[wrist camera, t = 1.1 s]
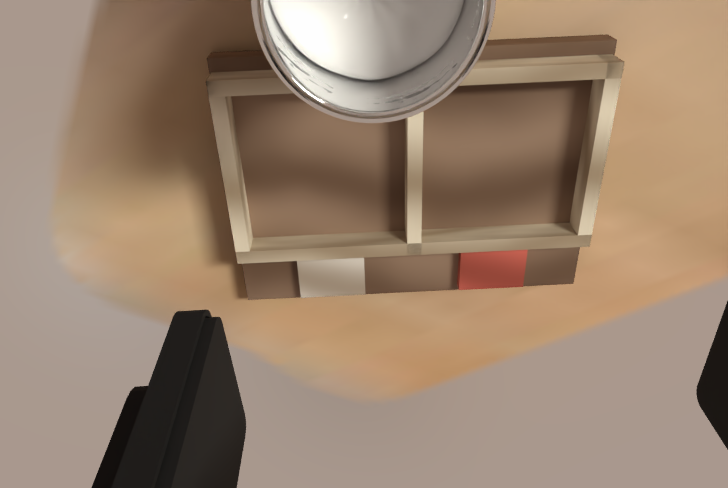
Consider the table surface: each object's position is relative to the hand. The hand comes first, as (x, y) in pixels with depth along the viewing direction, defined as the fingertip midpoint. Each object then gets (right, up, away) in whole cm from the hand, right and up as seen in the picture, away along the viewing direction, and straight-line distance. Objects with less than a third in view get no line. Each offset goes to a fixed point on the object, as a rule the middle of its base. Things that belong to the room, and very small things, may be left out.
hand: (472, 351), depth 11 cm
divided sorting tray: (+1, +6, +24) cm, 24 cm away
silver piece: (-2, +16, +18) cm, 24 cm away
